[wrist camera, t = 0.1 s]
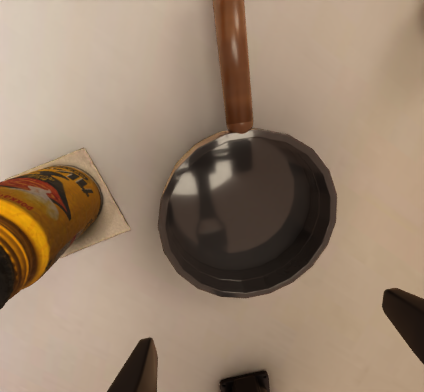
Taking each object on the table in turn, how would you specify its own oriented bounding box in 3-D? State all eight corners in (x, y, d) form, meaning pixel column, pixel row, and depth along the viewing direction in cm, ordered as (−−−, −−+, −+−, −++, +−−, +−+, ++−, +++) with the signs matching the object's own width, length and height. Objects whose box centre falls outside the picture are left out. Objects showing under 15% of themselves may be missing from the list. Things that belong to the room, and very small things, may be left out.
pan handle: (250, 133, 18) (257, 134, 17) (226, 137, 18) (230, 139, 16) (233, -67, 15) (241, -95, 13) (202, -64, 14) (205, -92, 13)
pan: (312, 257, 26) (333, 281, 22) (179, 283, 25) (177, 311, 21) (312, 117, 21) (340, 116, 17) (147, 142, 20) (138, 146, 16)
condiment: (84, 147, 20) (-53, 181, 8) (130, 229, 22) (75, 338, 11) (6, 178, 20) (-235, 255, 8) (62, 256, 23) (-63, 393, 11)
